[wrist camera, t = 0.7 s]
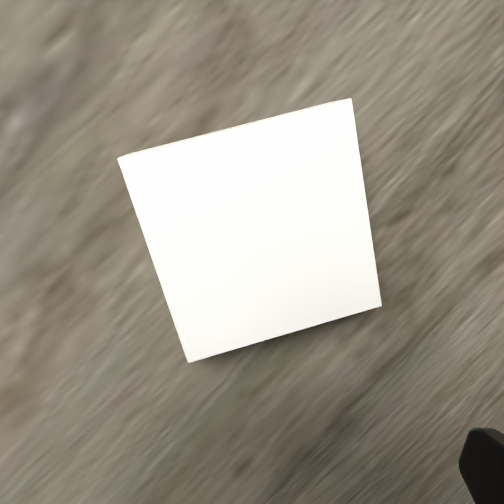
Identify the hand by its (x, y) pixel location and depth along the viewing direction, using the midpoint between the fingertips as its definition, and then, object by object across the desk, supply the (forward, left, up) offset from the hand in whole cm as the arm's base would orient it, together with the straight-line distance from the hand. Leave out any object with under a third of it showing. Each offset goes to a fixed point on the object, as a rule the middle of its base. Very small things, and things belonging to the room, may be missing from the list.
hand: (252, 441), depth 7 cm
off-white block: (0, -2, -14) cm, 14 cm away
